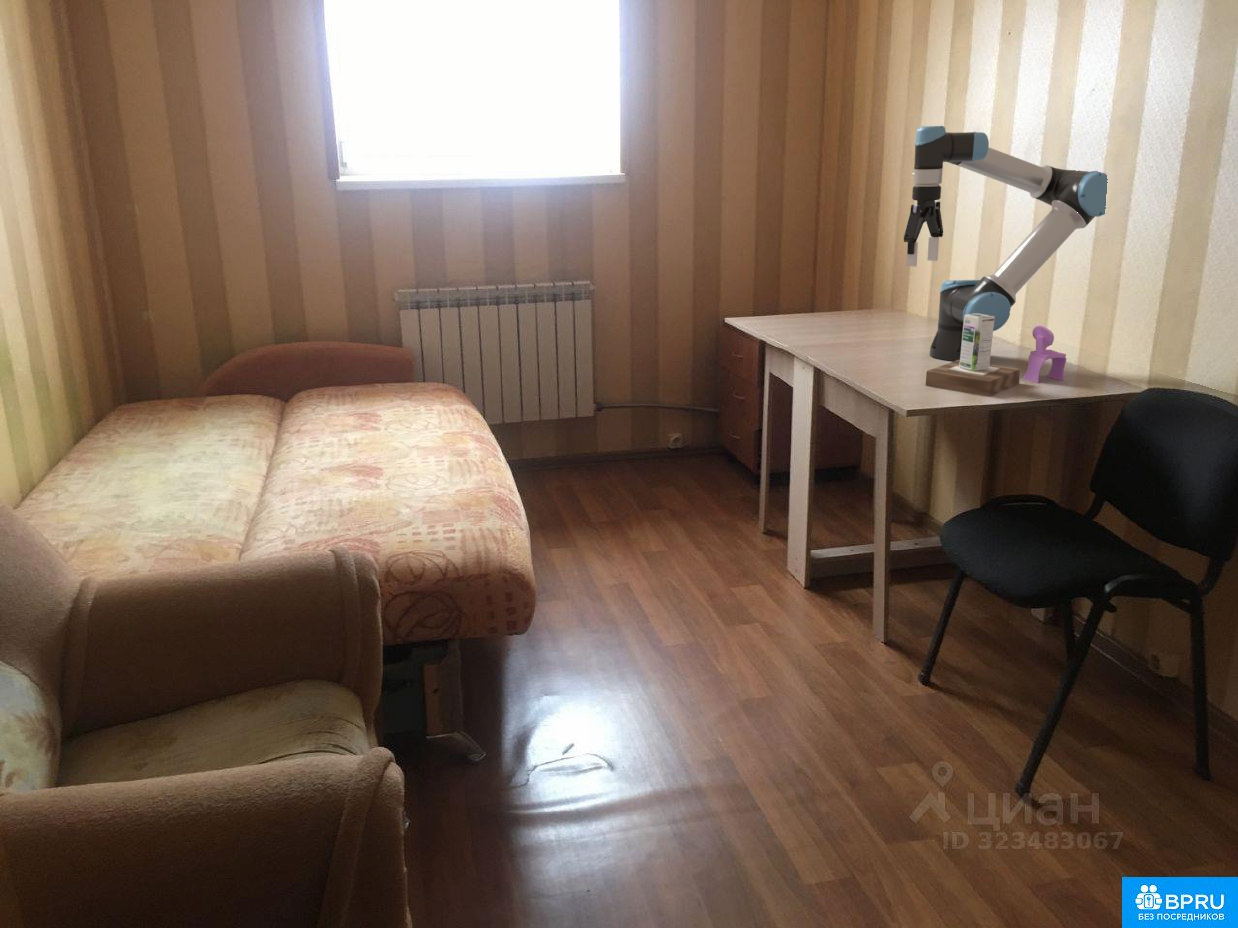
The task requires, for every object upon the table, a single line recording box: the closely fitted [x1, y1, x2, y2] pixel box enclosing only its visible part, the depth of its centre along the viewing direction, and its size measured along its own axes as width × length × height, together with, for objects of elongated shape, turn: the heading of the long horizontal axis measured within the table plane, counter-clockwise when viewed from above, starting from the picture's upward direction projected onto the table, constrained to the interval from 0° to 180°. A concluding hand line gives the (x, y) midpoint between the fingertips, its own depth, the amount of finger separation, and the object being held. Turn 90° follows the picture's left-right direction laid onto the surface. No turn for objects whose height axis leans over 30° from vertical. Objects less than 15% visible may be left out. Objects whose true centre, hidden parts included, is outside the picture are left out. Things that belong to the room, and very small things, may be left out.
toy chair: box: [1022, 325, 1067, 384], centre depth 277 cm, size 8×9×15 cm
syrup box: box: [959, 313, 995, 371], centre depth 271 cm, size 6×6×14 cm
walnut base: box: [925, 360, 1021, 397], centre depth 274 cm, size 18×18×4 cm
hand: (922, 263), depth 285 cm, fingers open, 13 cm apart
